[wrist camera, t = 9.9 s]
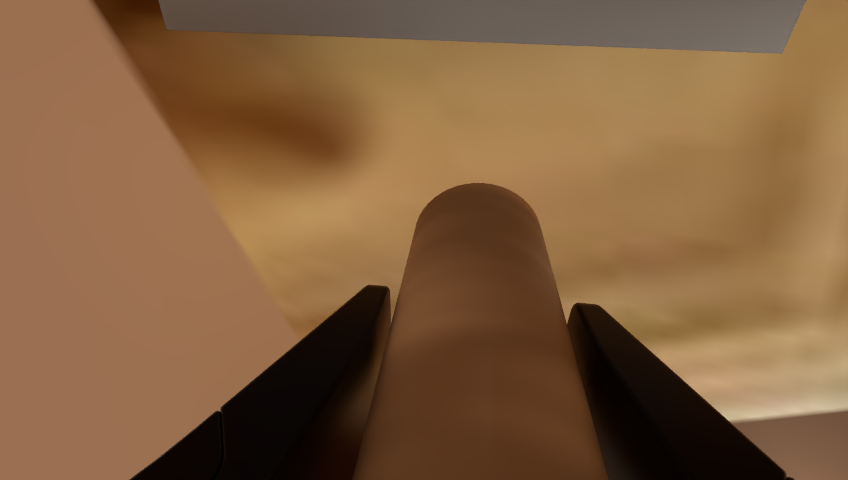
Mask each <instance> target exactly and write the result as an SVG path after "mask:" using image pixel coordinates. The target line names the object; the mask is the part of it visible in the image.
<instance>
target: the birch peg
mask: <svg viewBox="0 0 848 480" xmlns="http://www.w3.org/2000/svg"><path fill="white" fill-rule="evenodd" d="M352 480H609V479H608V476H607V472H606V468H605V464H604V461H603V457H602V453H601V450H600V446H599V442H598V439H597V435H596V431H595V427H594V424H593V420H592V416H591V413H590V409H589V405H588V401H587V398H586V394H585V390H584V387H583V383H582V379H581V375H580V372H579V368H578V364H577V361H576V357H575V353H574V349H573V346H572V342H571V338H570V335H569V331H568V327H567V323H566V320H565V316H564V312H563V309H562V305H561V301H560V297H559V294H558V290H557V286H556V283H555V279H554V275H553V272H552V268H551V264H550V260H549V257H548V253H547V249H546V246H545V242H544V238H543V234H542V231H541V227H540V224H539V221H538V218H537V216H536V214H535V212H534V211H533V209H532V208H531V207H530V205H529V204H528V203H527V202H526V201H525V200H524V199H523V198H521V197H520V196H518V195H517V194H516V193H514V192H512V191H510V190H508V189H506V188H503V187H500V186H496V185H492V184H485V183H471V184H464V185H460V186H456V187H453V188H451V189H448V190H446V191H444V192H442V193H441V194H439V195H438V196H436V197H435V198H434V199H433V200H432V201H430V202H429V203H428V204H427V206H426V207H425V208H424V209H423V211H422V213H421V214H420V216H419V219H418V221H417V224H416V228H415V232H414V236H413V240H412V244H411V248H410V252H409V256H408V260H407V264H406V267H405V271H404V275H403V279H402V283H401V287H400V291H399V295H398V299H397V303H396V307H395V311H394V315H393V319H392V323H391V327H390V331H389V335H388V339H387V343H386V347H385V351H384V355H383V359H382V363H381V367H380V371H379V375H378V378H377V382H376V386H375V390H374V394H373V398H372V402H371V406H370V410H369V414H368V418H367V422H366V426H365V430H364V434H363V438H362V442H361V446H360V450H359V454H358V458H357V462H356V466H355V470H354V474H353V478H352Z"/></svg>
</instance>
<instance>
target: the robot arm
mask: <svg viewBox="0 0 848 480" xmlns="http://www.w3.org/2000/svg"><path fill="white" fill-rule="evenodd" d="M390 326H391V307H390V290H389V288H388V287H387V286H379V285H367V286H365V287H364V288H363V289H362V290H361V291H359V292H358V293H357V294H356V295H355V296H353V297H352V298H351V299H350V300H349V301H347V302H346V303H345V304H344V305H343V306H341V307H340V308H339V309H338V310H337V311H335V312H334V313H333V314H332V315H331V316H329V317H328V318H327V319H326V320H325V321H323V322H322V323H321V324H320V325H319V326H317V327H316V328H315V329H314V330H313V331H311V332H310V333H309V334H308V335H307V336H305V337H304V338H303V339H302V340H301V341H300V342H298V343H297V344H296V345H295V346H294V347H292V348H291V349H290V350H289V351H288V352H286V353H285V354H284V355H283V356H282V357H280V358H279V359H278V360H277V361H276V362H274V363H273V364H272V365H271V366H270V367H268V368H267V369H266V370H265V371H264V372H262V373H261V374H260V375H259V376H258V377H256V378H255V379H254V380H253V381H252V382H250V383H249V384H248V385H247V386H246V387H245V388H243V389H242V390H241V391H240V392H239V393H237V394H236V395H235V396H234V397H233V398H231V399H230V400H229V401H228V402H226V403H225V404H224V405H223V406H222V407H221V409H220V410H221V412H220V411H216V412H214V413H213V414H212V415H211V416H209V417H208V418H207V419H206V420H205V421H203V422H202V423H201V424H200V425H199V426H198V427H196V428H195V429H194V430H193V431H191V432H190V433H189V434H188V435H186V436H185V437H184V438H183V439H182V440H180V441H179V442H178V443H176V444H175V445H174V446H173V447H171V448H170V449H169V450H168V451H166V452H165V453H164V454H163V455H161V456H160V457H159V458H158V459H156V460H155V461H154V462H152V463H151V464H150V465H148V466H147V467H146V468H144V469H143V470H142V471H140V472H139V473H137V474H136V475H135V476H134V477H132V478H131V479H129V480H352V478H353V474H354V470H355V466H356V462H357V458H358V454H359V450H360V446H361V442H362V438H363V434H364V430H365V426H366V422H367V418H368V414H369V410H370V406H371V402H372V398H373V394H374V390H375V386H376V382H377V378H378V375H379V371H380V367H381V363H382V359H383V355H384V351H385V347H386V343H387V339H388V335H389V331H390ZM567 327H568V331H569V335H570V338H571V342H572V346H573V349H574V353H575V357H576V361H577V364H578V368H579V372H580V375H581V379H582V383H583V387H584V390H585V394H586V398H587V401H588V405H589V409H590V413H591V416H592V420H593V424H594V427H595V431H596V435H597V439H598V442H599V446H600V450H601V453H602V457H603V461H604V464H605V468H606V472H607V476H608V479H609V480H794V479H793V478H791V477H786V473H785V471H784V470H783V469H782V468H781V467H780V466H778V465H777V464H776V463H775V462H774V461H773V460H772V459H771V458H769V457H768V456H767V455H766V454H765V453H764V452H763V451H761V449H759V448H758V447H757V446H756V445H755V444H754V443H753V442H752V441H750V440H749V439H748V438H747V437H746V436H745V435H744V434H743V433H742V432H740V431H739V430H738V429H737V428H736V427H735V426H734V425H733V424H731V423H730V422H729V421H728V420H727V419H726V418H725V417H724V416H723V415H721V414H720V413H719V412H718V411H717V410H716V409H715V408H714V407H712V406H711V405H710V404H709V403H708V402H707V401H706V400H705V399H703V398H702V397H701V396H700V395H699V394H698V393H697V392H696V391H695V390H693V389H692V388H691V387H690V386H689V385H688V384H687V383H686V382H684V381H683V380H682V379H681V378H680V377H679V376H678V375H677V374H675V373H674V372H673V371H672V370H671V369H670V368H669V367H668V366H667V365H665V364H664V363H663V362H662V361H661V360H660V359H659V358H658V357H656V356H655V355H654V354H653V353H652V352H651V351H650V350H649V349H648V348H646V347H645V346H644V345H643V344H642V343H641V342H640V341H639V340H637V339H636V338H635V337H634V336H633V335H632V334H631V333H630V332H628V331H627V330H626V329H625V328H624V327H623V326H622V325H621V324H620V323H618V322H617V321H616V320H615V319H614V318H613V317H612V316H611V315H609V314H608V313H607V312H606V311H605V310H604V309H603V308H602V307H600V306H599V305H596V304H586V303H576V304H574V305H573V307H572V309H571V312H570V316H569V320H568V323H567Z"/></svg>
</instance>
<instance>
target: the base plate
mask: <svg viewBox="0 0 848 480" xmlns="http://www.w3.org/2000/svg"><path fill="white" fill-rule="evenodd" d="M158 1H159V4H160V8H161V12H162V15H163V19H164V22H165V26H166V30H180V31H206V32H232V33H258V34H284V35H310V36H336V37H363V38H389V39H415V40H441V41H467V42H493V43H519V44H545V45H571V46H597V47H623V48H649V49H675V50H701V51H727V52H753V53H779V54H782V53H783V51H784V48H785V46H786V44H787V41H788V39H789V37H790V35H791V32H792V30H793V28H794V26H795V23H796V21H797V19H798V17H799V14H800V12H801V10H802V8H803V5H804V3H805V1H806V0H158Z"/></svg>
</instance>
